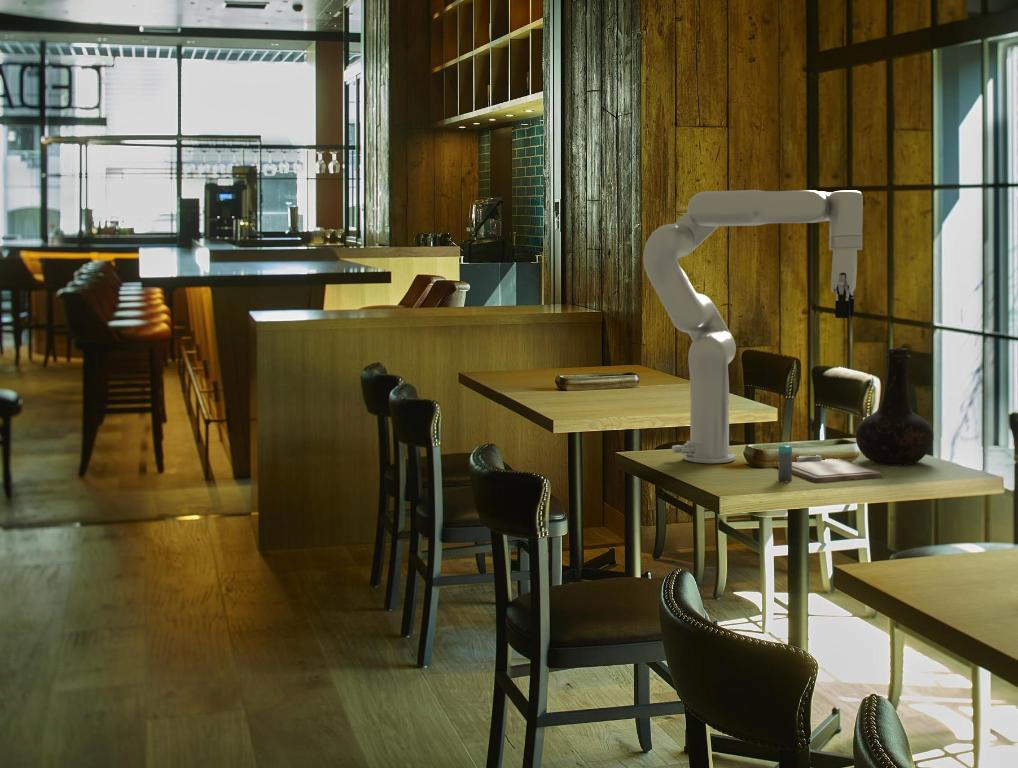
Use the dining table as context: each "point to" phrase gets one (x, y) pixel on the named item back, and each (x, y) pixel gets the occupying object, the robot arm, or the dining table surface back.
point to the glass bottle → (895, 421)
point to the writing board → (830, 469)
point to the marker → (785, 463)
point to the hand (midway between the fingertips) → (844, 316)
